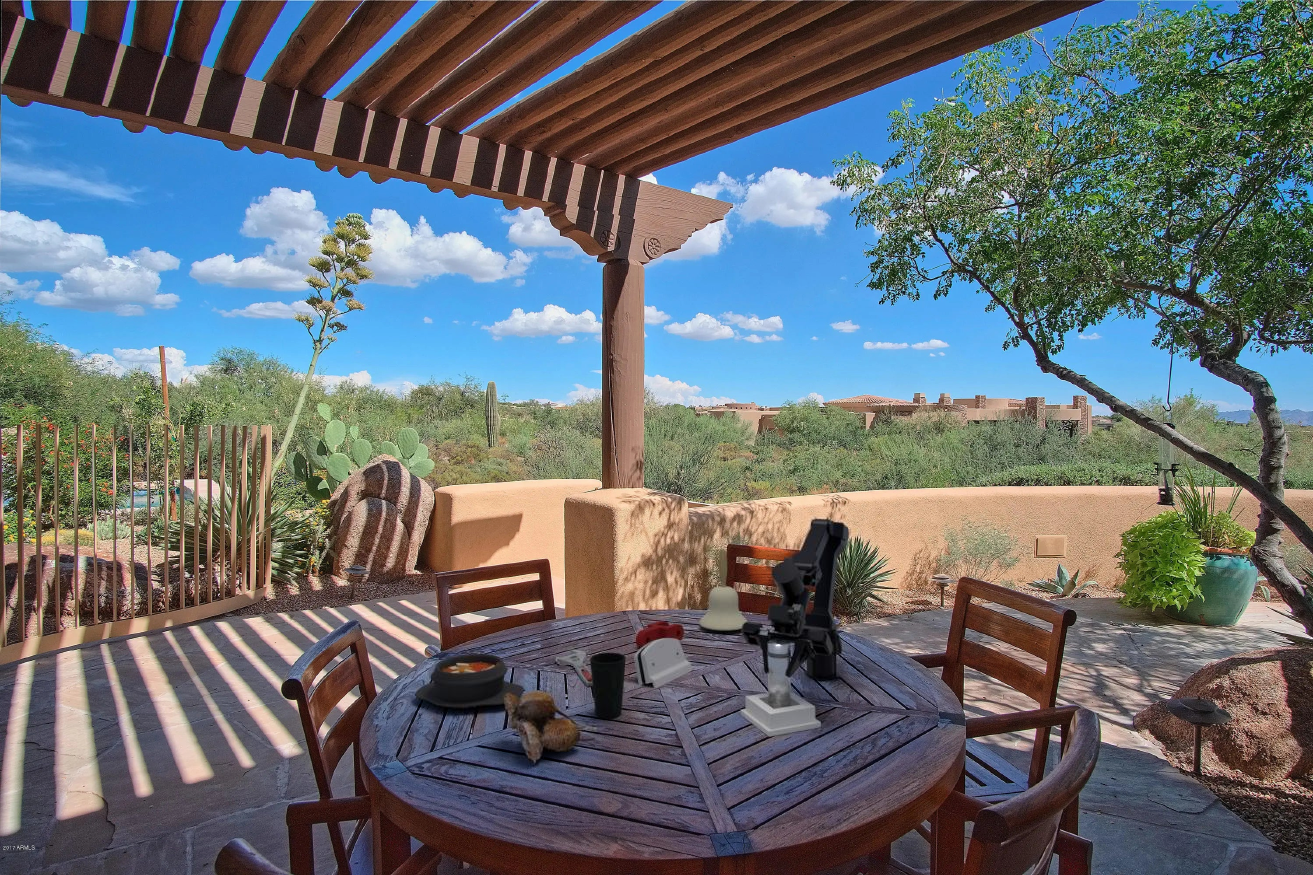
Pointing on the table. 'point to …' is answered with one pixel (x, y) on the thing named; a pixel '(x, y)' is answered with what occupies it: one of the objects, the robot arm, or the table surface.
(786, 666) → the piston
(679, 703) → the table surface
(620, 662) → the cup
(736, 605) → the handbell
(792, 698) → the white square hollow block
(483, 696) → the casserole
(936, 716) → the table surface
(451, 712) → the table surface
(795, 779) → the table surface
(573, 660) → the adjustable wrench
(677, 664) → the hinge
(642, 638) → the mechanical linkage
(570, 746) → the seed pod
